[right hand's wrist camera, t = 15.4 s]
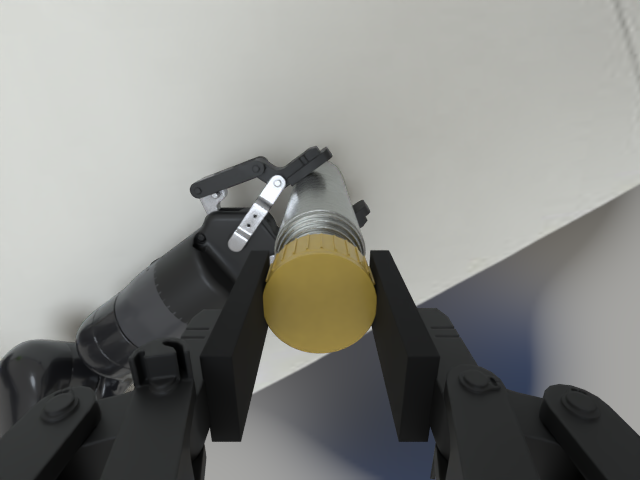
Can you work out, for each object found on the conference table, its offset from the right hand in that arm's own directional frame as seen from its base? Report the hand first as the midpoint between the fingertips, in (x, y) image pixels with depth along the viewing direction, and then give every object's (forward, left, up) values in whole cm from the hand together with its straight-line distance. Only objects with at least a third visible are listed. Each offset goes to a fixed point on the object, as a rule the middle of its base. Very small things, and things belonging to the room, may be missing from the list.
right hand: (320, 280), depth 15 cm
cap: (0, 0, +2) cm, 2 cm away
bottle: (0, 0, -20) cm, 20 cm away
